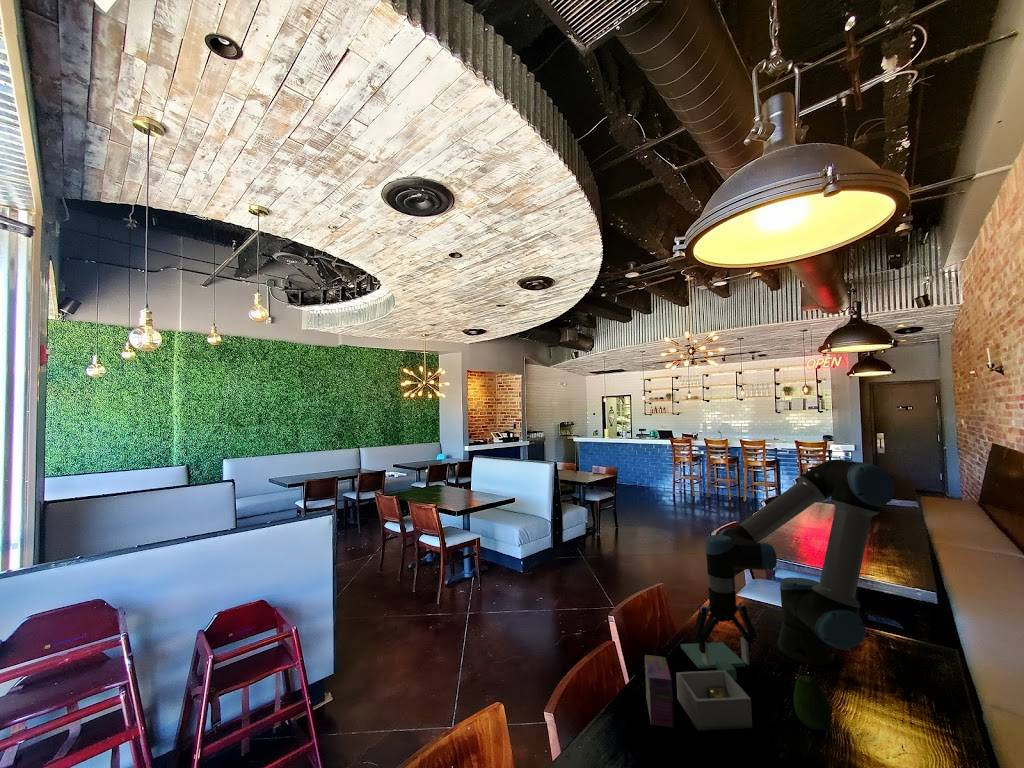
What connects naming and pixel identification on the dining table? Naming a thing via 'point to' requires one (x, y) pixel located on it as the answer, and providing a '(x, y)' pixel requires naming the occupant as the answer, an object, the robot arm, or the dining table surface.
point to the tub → (713, 701)
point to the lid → (715, 657)
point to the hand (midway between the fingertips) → (725, 662)
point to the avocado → (811, 704)
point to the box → (659, 691)
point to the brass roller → (716, 693)
